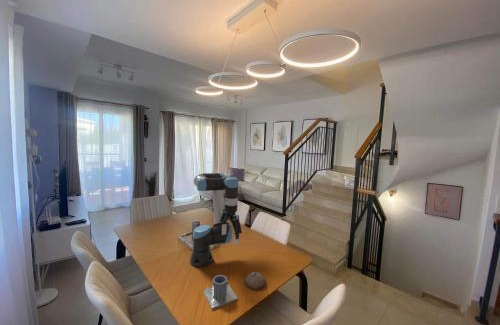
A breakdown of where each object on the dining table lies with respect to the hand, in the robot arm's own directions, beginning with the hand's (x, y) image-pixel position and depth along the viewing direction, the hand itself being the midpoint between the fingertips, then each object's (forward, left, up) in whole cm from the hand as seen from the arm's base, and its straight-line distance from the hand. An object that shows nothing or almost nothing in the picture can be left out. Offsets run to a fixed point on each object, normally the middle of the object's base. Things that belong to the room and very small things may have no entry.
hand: (229, 238), depth 122 cm
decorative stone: (+11, +12, -25) cm, 30 cm away
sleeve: (+11, -10, -23) cm, 28 cm away
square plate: (+11, -10, -24) cm, 29 cm away
